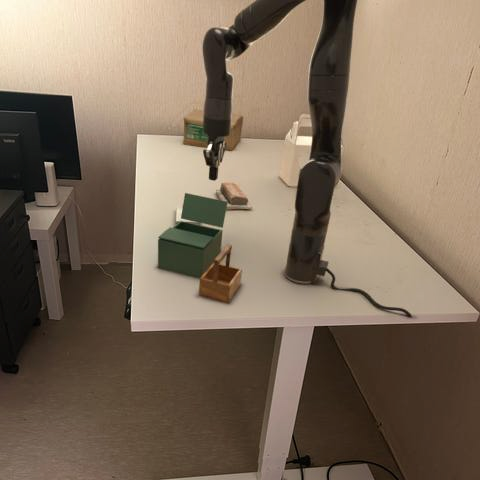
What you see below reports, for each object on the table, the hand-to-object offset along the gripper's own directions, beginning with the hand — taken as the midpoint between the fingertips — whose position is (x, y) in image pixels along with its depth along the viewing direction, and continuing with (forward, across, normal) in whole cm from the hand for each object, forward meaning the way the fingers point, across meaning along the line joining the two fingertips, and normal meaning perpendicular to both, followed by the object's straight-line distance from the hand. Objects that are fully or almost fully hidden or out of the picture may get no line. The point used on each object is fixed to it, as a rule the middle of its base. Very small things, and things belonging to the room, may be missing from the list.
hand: (213, 179), depth 133 cm
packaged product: (+20, +39, +5) cm, 44 cm away
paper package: (+20, +118, +43) cm, 128 cm away
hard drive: (+20, +14, +13) cm, 28 cm away
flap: (+7, -6, 0) cm, 10 cm away
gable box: (+20, +81, -16) cm, 85 cm away
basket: (+20, -26, -13) cm, 35 cm away
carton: (+20, -15, 0) cm, 25 cm away
